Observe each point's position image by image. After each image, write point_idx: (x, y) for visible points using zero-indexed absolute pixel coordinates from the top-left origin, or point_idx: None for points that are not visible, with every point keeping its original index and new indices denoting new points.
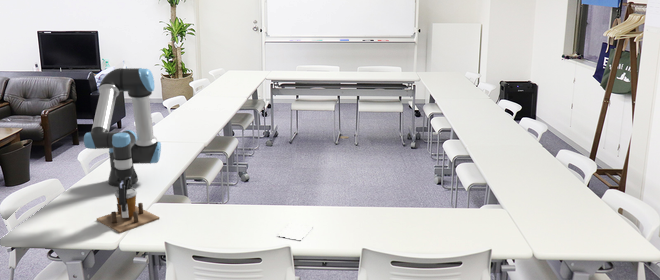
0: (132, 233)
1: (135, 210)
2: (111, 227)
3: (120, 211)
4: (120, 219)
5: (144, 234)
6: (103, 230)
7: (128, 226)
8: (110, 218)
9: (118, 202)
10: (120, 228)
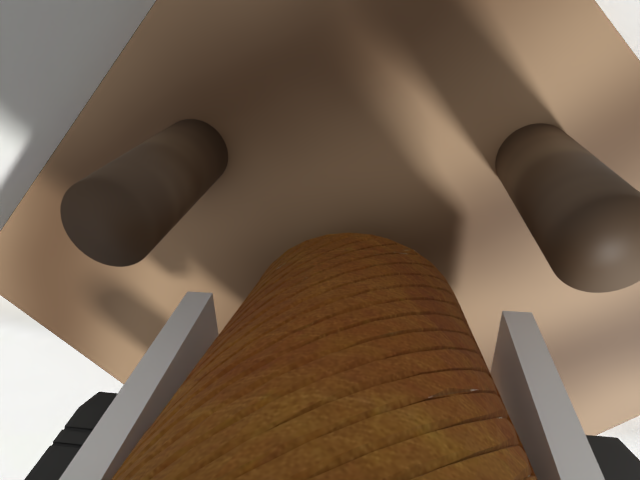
0: (27, 364)
1: (611, 347)
2: (67, 140)
3: (242, 306)
4: (300, 212)
5: (37, 446)
6: (4, 33)
7: (106, 336)
8: (345, 42)
9: (129, 465)
10: (37, 266)
